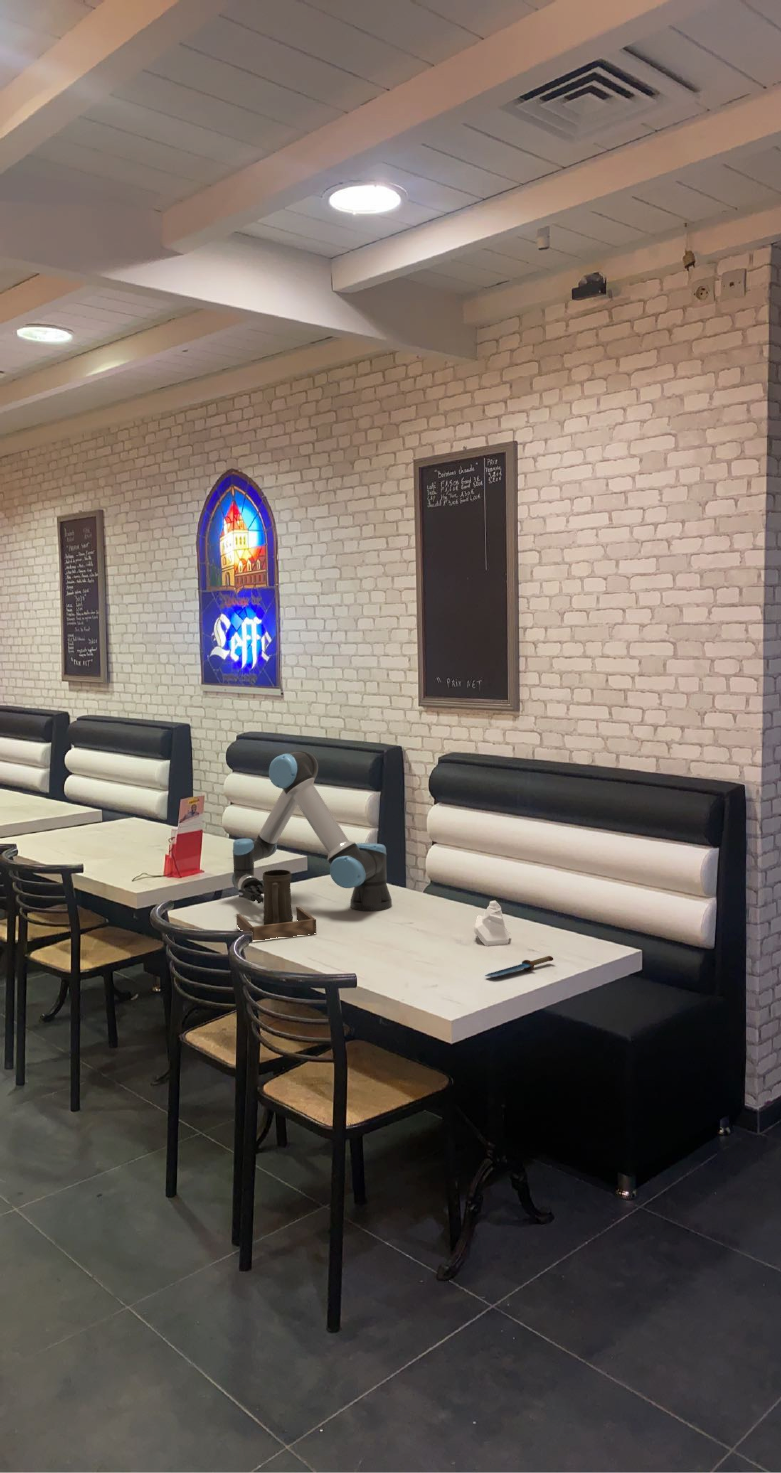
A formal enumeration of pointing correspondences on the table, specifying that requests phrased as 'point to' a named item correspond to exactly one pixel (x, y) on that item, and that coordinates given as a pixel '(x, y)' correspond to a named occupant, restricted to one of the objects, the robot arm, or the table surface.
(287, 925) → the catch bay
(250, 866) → the robot arm
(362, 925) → the table surface
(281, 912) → the beer stein
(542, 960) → the knife
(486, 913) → the white faceted rock
